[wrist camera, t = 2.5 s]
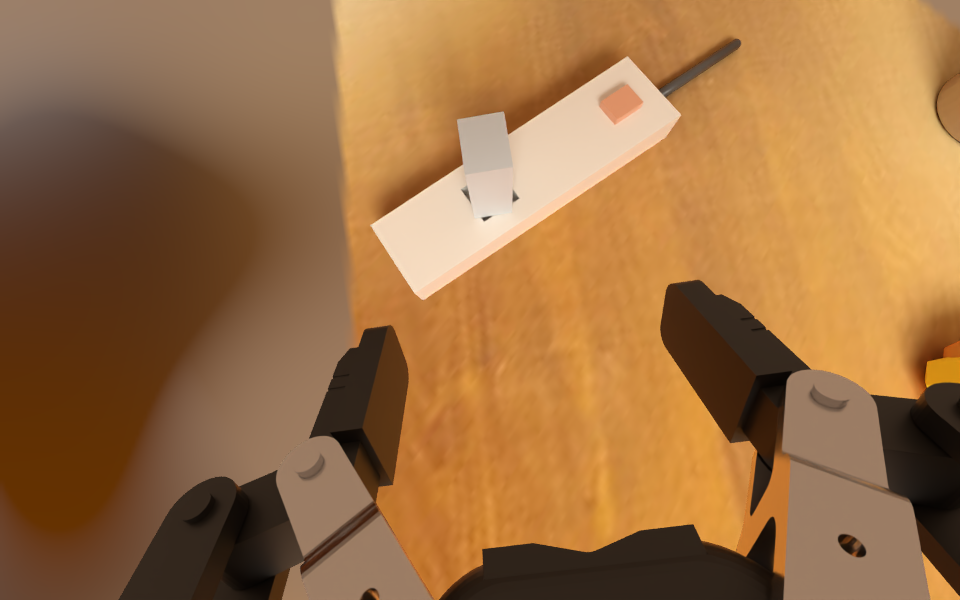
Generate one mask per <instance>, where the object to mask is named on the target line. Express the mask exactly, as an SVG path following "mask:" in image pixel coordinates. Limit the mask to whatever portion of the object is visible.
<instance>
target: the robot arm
mask: <svg viewBox="0 0 960 600" xmlns="http://www.w3.org/2000/svg"><path fill="white" fill-rule="evenodd" d="M937 111H938V115H939V118H940V121H941V122H942V124H943V126H944V127H945V129H946V130H947V131H948V132H949V133H950V134H951V136H952V137H954V138H955V139H956V140H958V141H959V142H960V73H959V74H957V75H956V76H954V77H953V78H951V79H950V80H948V82H947V83H946V84H945V85H944V86H943V87H942V89H941V91H940V93H939V96H938V100H937ZM660 330H661V337H662V341H663V343H664V345H665V347H666V349H667V350H668V352H669V353H670V355H671V356H672V358H673V359H674V361H675V362H676V363H677V365H678V366H679V368H680V369H681V371H682V372H683V374H684V375H685V377H686V378H687V380H688V381H689V383H690V384H691V386H692V387H693V389H694V390H695V392H696V393H697V395H698V396H699V397H700V399H701V400H702V402H703V403H704V405H705V406H706V408H707V409H708V411H709V412H710V414H711V415H712V417H713V418H714V420H715V421H716V423H717V424H718V426H719V427H720V429H721V430H722V431H723V433H724V434H725V436H726V437H727V439H728V440H729V442H730V443H735V442H743V441H750V442H751V443H752V445H753V446H754V447H755V451H754V454H753V457H752V464H751V472H750V480H749V487H748V495H747V503H746V510H745V518H744V524H743V529H742V532H741V536H740V539H739V542H738V546H737V549H736V552H735V551H732V550H730V549H727V548H725V547H722V546H719V545H716V544H712V543H709V542H704V541H701V540H700V537H699V535H698V533H697V531H696V529H695V527H694V525H693V524H692V525H683V526H675V527H666V528H658V529H649V530H641V531H638V532H636V533H634V534H632V535H629V536H627V537H625V538H623V539H621V540H618V541H616V542H614V543H612V544H609V545H607V546H605V547H603V548H601V549H598V550H596V551H593V552H581V551H575V550H569V549H564V548H558V547H552V546H546V545H540V544H535V543H531V544H523V545H514V546H506V547H497V548H489V549H482V551H483V565H482V566H480V567H477V568H475V569H473V570H472V571H470V572H469V573H467V574H465V575H464V576H463V577H461V578H460V579H459V580H458V581H457V582H455V583H454V584H453V585H452V586H451V587H450V588H449V589H448V590H447V591H446V592H445V593H444V594H443V595H442V597H441V598H440V599H439V600H930V595H929V590H928V585H927V579H926V574H925V568H924V563H923V557H922V552H923V554H924V555H925V556H926V557H927V558H928V559H929V561H930V562H931V563H932V564H933V565H934V567H935V568H936V569H937V570H938V571H939V572H940V574H941V575H942V576H943V577H944V578H945V580H946V581H947V582H948V583H949V584H950V585H951V587H952V588H953V589H954V590H955V591H956V593H957V594H958V595H959V596H960V383H951V382H944V383H936V384H933V385H930V386H929V387H928V388H927V389H926V390H925V391H924V393H923V394H922V395H921V396H920V398H919V399H918V400H916V399H907V398H897V397H888V396H878V395H870V394H869V393H868V392H867V391H866V390H864V389H863V388H862V387H860V386H859V385H858V384H856V383H854V382H853V381H851V380H849V379H847V378H845V377H842V376H840V375H837V374H834V373H830V372H826V371H821V370H811V369H810V368H809V367H808V366H807V365H806V364H805V363H804V362H803V361H802V360H800V359H799V358H798V357H797V356H796V355H795V354H794V353H793V352H792V351H791V350H790V349H789V348H788V347H786V346H785V345H784V344H783V343H782V342H781V341H780V340H779V339H778V338H777V337H776V336H775V335H774V334H772V333H771V332H770V331H769V330H766V327H765V326H764V325H763V324H762V323H761V322H760V321H758V320H757V319H755V318H754V316H753V315H752V314H751V313H750V312H749V311H748V310H747V309H746V308H744V307H743V306H742V305H741V304H740V303H738V302H736V301H734V300H732V299H730V298H728V297H726V296H724V295H722V294H721V295H715V294H714V293H713V292H712V291H711V290H710V289H709V288H708V287H707V286H706V285H705V284H704V283H703V282H702V281H700V280H693V281H687V282H680V283H673V284H670V285H668V287H667V289H666V295H665V301H664V307H663V313H662V320H661V327H660ZM407 388H408V367H407V363H406V360H405V357H404V355H403V352H402V349H401V347H400V344H399V341H398V338H397V336H396V333H395V330H394V328H393V327H392V326H391V325H389V326H382V327H375V328H369V329H365V330H364V332H363V335H362V338H361V341H360V344H359V347H357V348H350V349H349V350H348V351H347V352H346V354H345V355H344V356H343V357H342V358H341V360H340V361H339V362H338V364H337V367H336V369H335V372H334V375H333V379H332V380H331V382H330V385H329V388H328V392H327V393H326V395H325V399H324V401H323V403H322V406H321V409H320V411H319V414H318V416H317V419H316V422H315V424H314V427H313V430H312V432H311V435H310V437H309V439H308V440H306V441H304V442H303V443H300V444H299V445H298V446H296V447H295V448H294V449H293V450H291V451H290V452H289V453H288V455H287V456H286V457H285V458H284V460H283V461H282V463H281V464H280V466H279V469H278V470H276V471H274V472H273V473H270V474H268V475H265V476H263V477H261V478H258V479H256V480H254V481H251V482H249V483H246V484H244V485H242V486H238V485H237V484H236V483H235V482H234V481H233V480H231V479H230V478H227V477H215V478H211V479H208V480H206V481H204V482H202V483H200V484H198V485H196V486H195V487H193V488H192V489H191V490H189V491H188V492H187V493H185V495H183V496H182V497H181V498H180V499H179V500H178V501H177V502H176V503H175V504H174V506H173V507H172V508H171V509H170V511H169V513H168V514H167V516H166V517H165V519H164V521H163V523H162V525H161V526H160V528H159V530H158V532H157V533H156V535H155V537H154V538H153V540H152V542H151V544H150V545H149V547H148V549H147V551H146V553H145V554H144V556H143V558H142V560H141V561H140V563H139V565H138V567H137V569H136V570H135V572H134V574H133V575H132V577H131V579H130V581H129V582H128V584H127V586H126V588H125V589H124V591H123V593H122V595H121V596H120V598H119V600H282V596H283V592H284V589H285V585H286V581H287V578H288V574H289V570H290V568H291V567H293V566H295V565H297V564H299V563H301V562H303V561H304V563H303V564H302V565H301V567H300V572H301V577H302V581H303V584H304V587H305V590H306V592H307V595H308V598H309V600H434V598H433V597H432V595H431V593H430V592H429V590H428V588H427V587H426V585H425V583H424V582H423V580H422V579H421V577H420V575H419V574H418V572H417V570H416V569H415V567H414V565H413V564H412V562H411V560H410V559H409V557H408V555H407V554H406V552H405V551H404V549H403V547H402V546H401V544H400V542H399V541H398V539H397V537H396V536H395V534H394V532H393V531H392V529H391V527H390V526H389V524H388V522H387V521H386V519H385V517H384V516H383V514H382V512H381V511H380V509H379V507H378V506H377V504H376V498H377V492H378V487H380V486H388V485H393V480H394V474H395V467H396V461H397V454H398V447H399V441H400V434H401V428H402V421H403V414H404V408H405V401H406V395H407ZM921 551H922V552H921Z"/></svg>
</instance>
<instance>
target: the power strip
mask: <svg viewBox="0 0 960 600" xmlns="http://www.w3.org/2000/svg"><path fill="white" fill-rule="evenodd" d="M740 45H741V41H740V40H739V39H735V40H733V41H731V42H730V43H728V44H727V45H725V46H724V47H722V48H721V49H719V50H718V51H716V52H715V53H713V54H712V55H710V56H709V57H707V58H706V59H704V60H703V61H701V62H700V63H698V64H697V65H695V66H694V67H692V68H691V69H689V70H688V71H686V72H685V73H683V74H682V75H680V76H679V77H677V78H676V79H674V80H673V81H671V82H670V83H668V84H667V85H665V86H664V87H662V88H661V89H659V90H658V89H657V88H656V87H655V86H654V85H653V84H652V82H651V81H650V80H649V79H648V78H647V77H646V76H645V75H644V74H643V73H642V72H641V70H640V69H639V68H638V67H637V66H636V65H635V64H634V63H633V62H632V61H631V60H630V58H629V57H628V56H627V57H626V58H624V59H623V60H621V61H620V62H618V63H617V64H615V65H613V66H612V67H610V68H609V69H607V70H606V71H604V72H603V73H601V74H600V75H598V76H597V77H595V78H594V79H592V80H591V81H589V82H588V83H586V84H585V85H583V86H582V87H580V88H579V89H577V90H575V91H574V92H572V93H571V94H569V95H568V96H566V97H565V98H563V99H562V100H560V101H559V102H557V103H556V104H554V105H553V106H551V107H550V108H548V109H547V110H545V111H544V112H542V113H540V114H539V115H537V116H536V117H534V118H533V119H531V120H530V121H528V122H527V123H525V124H524V125H522V126H521V127H519V128H518V129H516V130H515V131H513V132H512V133H510V134H509V135H508V139H509V145H510V151H511V157H512V162H513V197H512V213H506V214H500V215H493V216H487V217H481V218H474V213H473V209H472V204H471V200H470V196H469V191H468V187H467V182H466V178H465V173H464V166H463V165H461V166H460V167H458V168H457V169H455V170H454V171H452V172H451V173H449V174H448V175H446V176H445V177H443V178H442V179H440V180H439V181H437V182H436V183H434V184H433V185H431V186H430V187H428V188H426V189H425V190H423V191H422V192H420V193H419V194H417V195H416V196H414V197H413V198H411V199H410V200H408V201H407V202H405V203H404V204H402V205H401V206H399V207H398V208H396V209H395V210H393V211H392V212H390V213H388V214H387V215H385V216H384V217H382V218H381V219H379V220H378V221H376V222H375V223H373V224H372V225H370V226H371V227H372V229H373V230H374V232H375V233H376V235H377V236H378V238H379V239H380V241H381V243H382V244H383V246H384V247H385V249H386V250H387V252H388V253H389V255H390V256H391V258H392V259H393V261H394V263H395V264H396V266H397V267H398V269H399V270H400V272H401V273H402V275H403V276H404V278H405V279H406V281H407V283H408V284H409V286H410V287H411V289H412V290H413V292H414V293H415V294H416V295H417V296H418V297H420V298H421V299H422V300H424V299H426V298H427V297H429V296H430V295H432V294H433V293H435V292H436V291H438V290H439V289H441V288H442V287H444V286H445V285H447V284H448V283H450V282H451V281H453V280H454V279H455V278H457V277H458V276H460V275H461V274H463V273H464V272H466V271H467V270H469V269H470V268H472V267H473V266H475V265H476V264H478V263H479V262H481V261H482V260H484V259H485V258H487V257H488V256H490V255H491V254H493V253H494V252H496V251H497V250H499V249H500V248H502V247H503V246H505V245H506V244H508V243H509V242H511V241H512V240H514V239H515V238H517V237H518V236H520V235H521V234H523V233H524V232H525V231H527V230H528V229H530V228H531V227H533V226H534V225H536V224H537V223H539V222H540V221H542V220H543V219H545V218H546V217H548V216H549V215H551V214H552V213H554V212H555V211H557V210H558V209H560V208H561V207H563V206H564V205H566V204H567V203H569V202H570V201H572V200H573V199H575V198H576V197H578V196H579V195H581V194H582V193H584V192H585V191H587V190H588V189H590V188H591V187H593V186H594V185H595V184H597V183H598V182H600V181H601V180H603V179H604V178H606V177H607V176H609V175H610V174H612V173H613V172H615V171H616V170H618V169H619V168H621V167H622V166H624V165H625V164H627V163H628V162H630V161H631V160H633V159H634V158H636V157H637V156H639V155H640V154H642V153H643V152H645V151H646V150H648V149H649V148H651V147H652V146H654V145H655V144H657V143H658V142H660V141H661V140H663V139H664V138H665V137H666V136H667V135H668V133H669V132H670V130H671V129H672V127H673V126H674V125H675V123H676V122H677V120H678V119H679V117H680V116H681V114H680V113H679V112H678V111H677V110H676V109H675V108H674V107H673V105H672V104H671V103H670V102H669V101H668V100H667V99H666V98H665V97H666V96H668V95H669V94H671V93H672V92H674V91H675V90H677V89H678V88H680V87H681V86H683V85H684V84H686V83H687V82H689V81H690V80H692V79H693V78H695V77H696V76H698V75H699V74H701V73H702V72H704V71H705V70H707V69H708V68H710V67H711V66H713V65H714V64H716V63H717V62H719V61H720V60H722V59H723V58H725V57H726V56H728V55H729V54H731V53H732V52H734V51H735V50H737V49H738V48H739V47H740Z"/></svg>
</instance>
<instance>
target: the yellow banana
mask: <svg viewBox="0 0 960 600" xmlns="http://www.w3.org/2000/svg"><path fill="white" fill-rule="evenodd" d="M944 382H951V383H960V341H958V342H956V343H954V344H951V345H949V346H947V347H945V348H944V354H943V358H942V359H937V360H932V361H927V367H926V374H925V383H926V386H927V388H928V387H929V386H930V385H933V384H936V383H944Z"/></svg>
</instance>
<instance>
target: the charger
mask: <svg viewBox="0 0 960 600" xmlns="http://www.w3.org/2000/svg"><path fill="white" fill-rule="evenodd" d="M457 124H458V131H459V138H460V145H461V152H462V159H463V166H464V173H465V178H466V182H467V187H468V191H469V196H470V200H471V204H472V209H473V213H474V218H481V217H487V216H493V215H500V214H506V213H512V197H513V162H512V157H511V151H510V145H509V139H508V133H507V127H506V121H505V115H504V111H503V112H497V113H491V114H486V115H480V116H474V117H468V118H463V119H457Z"/></svg>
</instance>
